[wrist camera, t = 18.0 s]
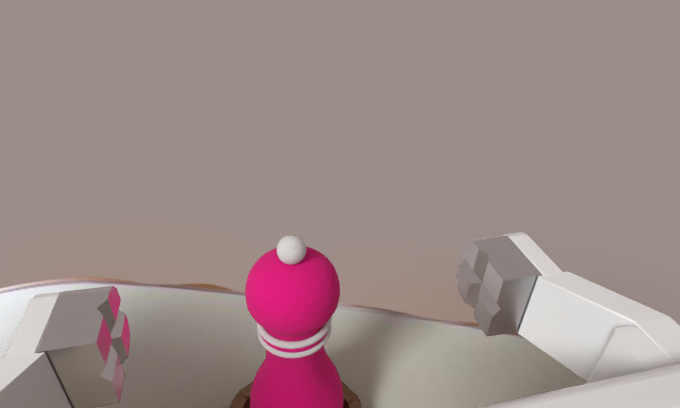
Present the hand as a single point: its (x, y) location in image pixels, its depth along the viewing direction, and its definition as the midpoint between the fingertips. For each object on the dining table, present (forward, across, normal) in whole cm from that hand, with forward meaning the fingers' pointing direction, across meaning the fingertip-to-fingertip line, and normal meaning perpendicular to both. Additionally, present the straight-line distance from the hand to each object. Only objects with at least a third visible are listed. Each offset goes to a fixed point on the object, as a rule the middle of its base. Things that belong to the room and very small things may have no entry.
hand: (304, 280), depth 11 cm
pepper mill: (+14, +1, -29) cm, 32 cm away
